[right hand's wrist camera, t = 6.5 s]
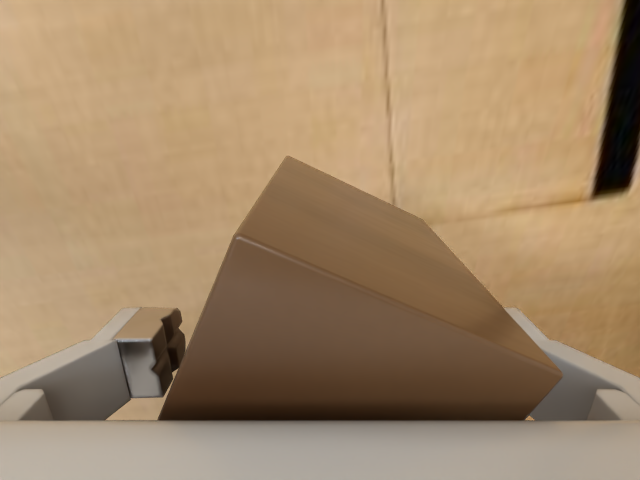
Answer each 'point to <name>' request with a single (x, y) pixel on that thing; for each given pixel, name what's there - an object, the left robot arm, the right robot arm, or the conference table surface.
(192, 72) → the conference table surface
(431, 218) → the conference table surface
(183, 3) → the conference table surface
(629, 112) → the conference table surface
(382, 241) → the bar
